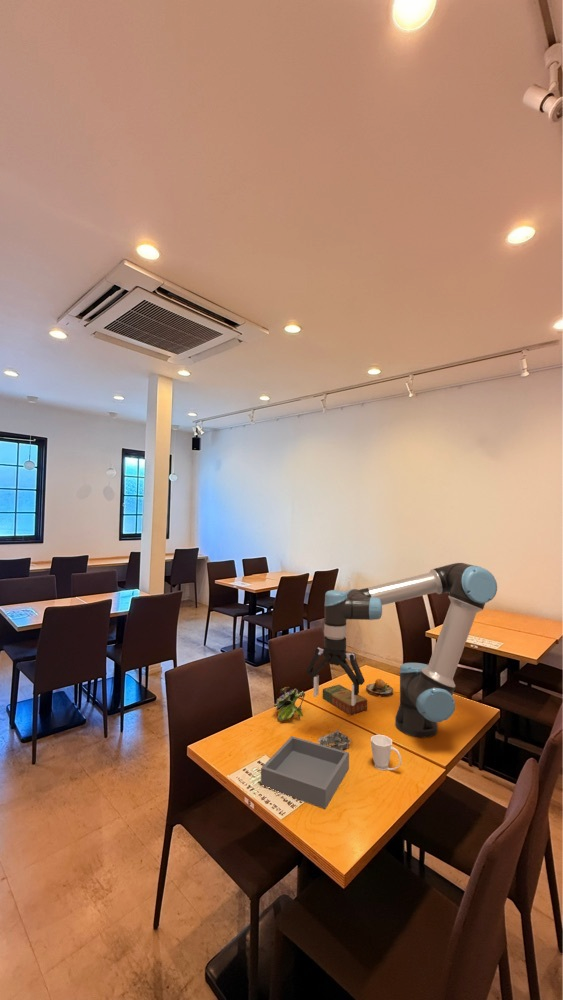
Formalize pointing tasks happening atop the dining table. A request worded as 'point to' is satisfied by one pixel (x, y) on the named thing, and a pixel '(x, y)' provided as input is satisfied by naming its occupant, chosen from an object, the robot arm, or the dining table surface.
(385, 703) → the dining table surface
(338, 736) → the egg carton
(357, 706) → the carton
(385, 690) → the brown food dish
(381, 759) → the cup
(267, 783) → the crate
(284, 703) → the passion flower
